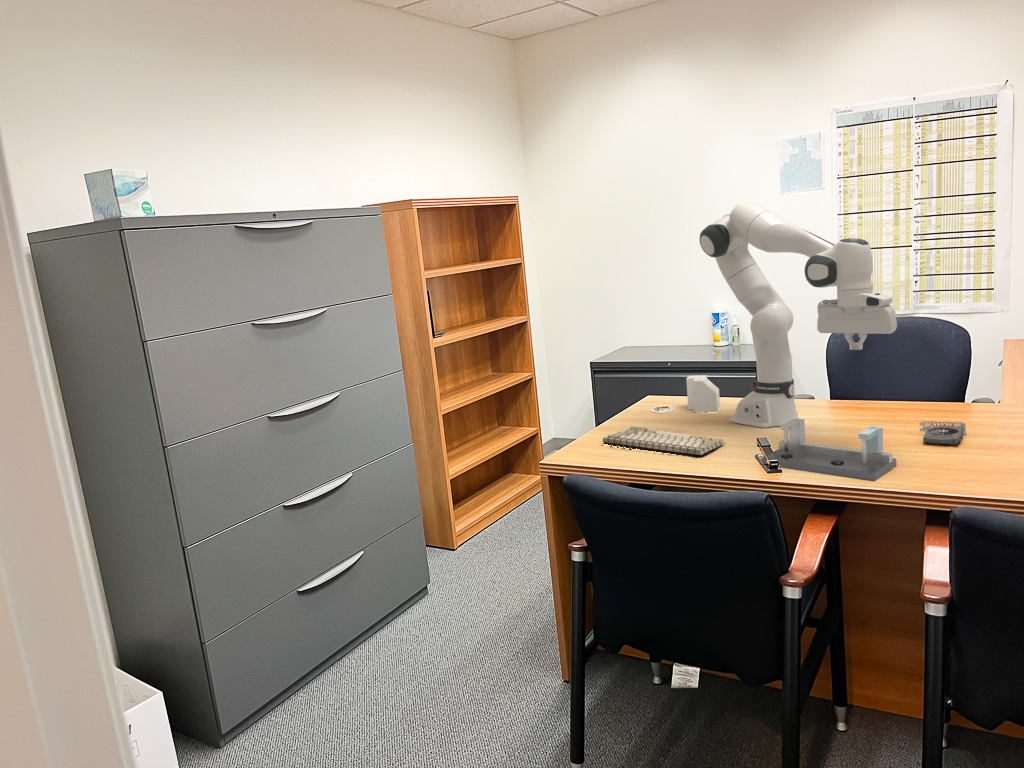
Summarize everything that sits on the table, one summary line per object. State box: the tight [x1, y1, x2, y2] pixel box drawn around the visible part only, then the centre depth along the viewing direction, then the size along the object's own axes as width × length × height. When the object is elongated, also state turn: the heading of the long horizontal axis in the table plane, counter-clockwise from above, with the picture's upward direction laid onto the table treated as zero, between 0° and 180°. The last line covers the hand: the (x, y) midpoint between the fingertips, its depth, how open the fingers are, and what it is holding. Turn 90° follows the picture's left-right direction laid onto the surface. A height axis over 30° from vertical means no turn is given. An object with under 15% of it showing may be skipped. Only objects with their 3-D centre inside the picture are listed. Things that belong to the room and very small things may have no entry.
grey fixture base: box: [762, 418, 897, 482], centre depth 200 cm, size 30×14×11 cm, turn 43°
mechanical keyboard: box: [602, 425, 726, 460], centre depth 237 cm, size 38×19×3 cm, turn 47°
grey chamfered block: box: [685, 374, 721, 413], centre depth 277 cm, size 11×11×12 cm
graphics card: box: [919, 420, 967, 445], centre depth 214 cm, size 17×4×12 cm
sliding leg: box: [858, 425, 884, 463], centre depth 192 cm, size 3×8×8 cm, turn 133°
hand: (856, 349), depth 205 cm, fingers closed
